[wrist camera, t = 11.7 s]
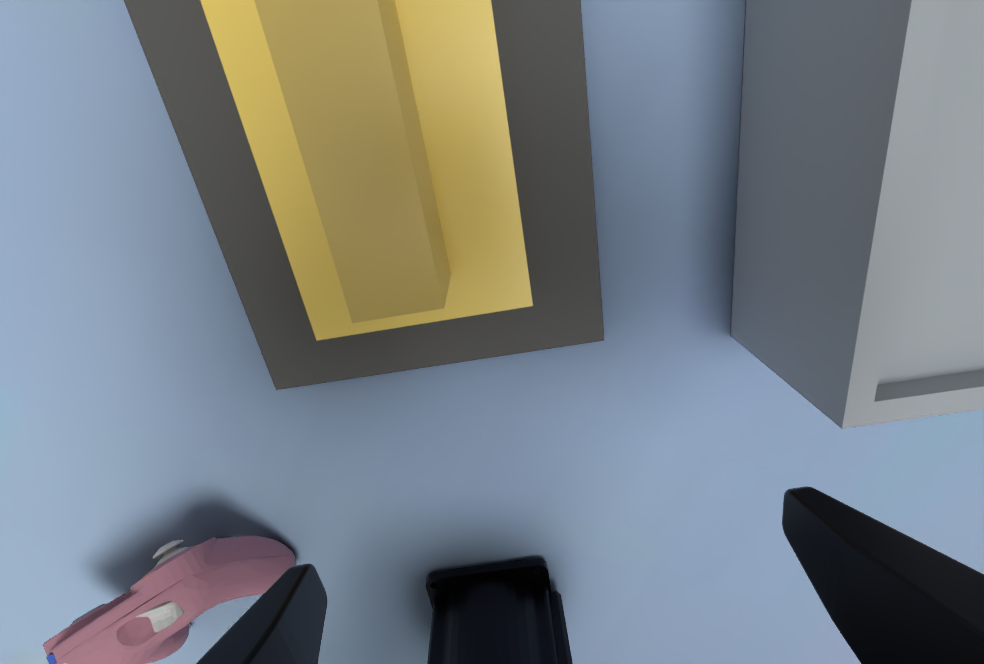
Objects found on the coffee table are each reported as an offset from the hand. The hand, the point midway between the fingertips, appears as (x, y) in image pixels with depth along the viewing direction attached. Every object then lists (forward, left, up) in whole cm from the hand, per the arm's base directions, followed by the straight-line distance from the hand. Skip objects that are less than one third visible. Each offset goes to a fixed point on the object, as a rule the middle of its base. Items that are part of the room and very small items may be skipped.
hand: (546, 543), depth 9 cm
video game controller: (-18, -11, -12) cm, 24 cm away
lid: (-3, +7, -11) cm, 14 cm away
